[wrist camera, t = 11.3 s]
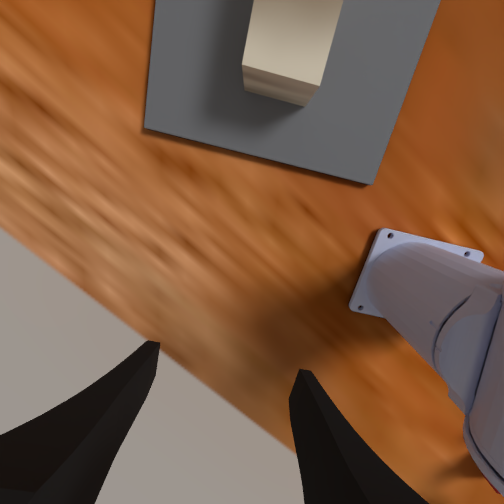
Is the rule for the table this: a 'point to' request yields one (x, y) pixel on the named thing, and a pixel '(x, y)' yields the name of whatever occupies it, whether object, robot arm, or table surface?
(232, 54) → the charcoal rubber mat
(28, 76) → the table surface
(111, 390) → the robot arm
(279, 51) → the birch card box
